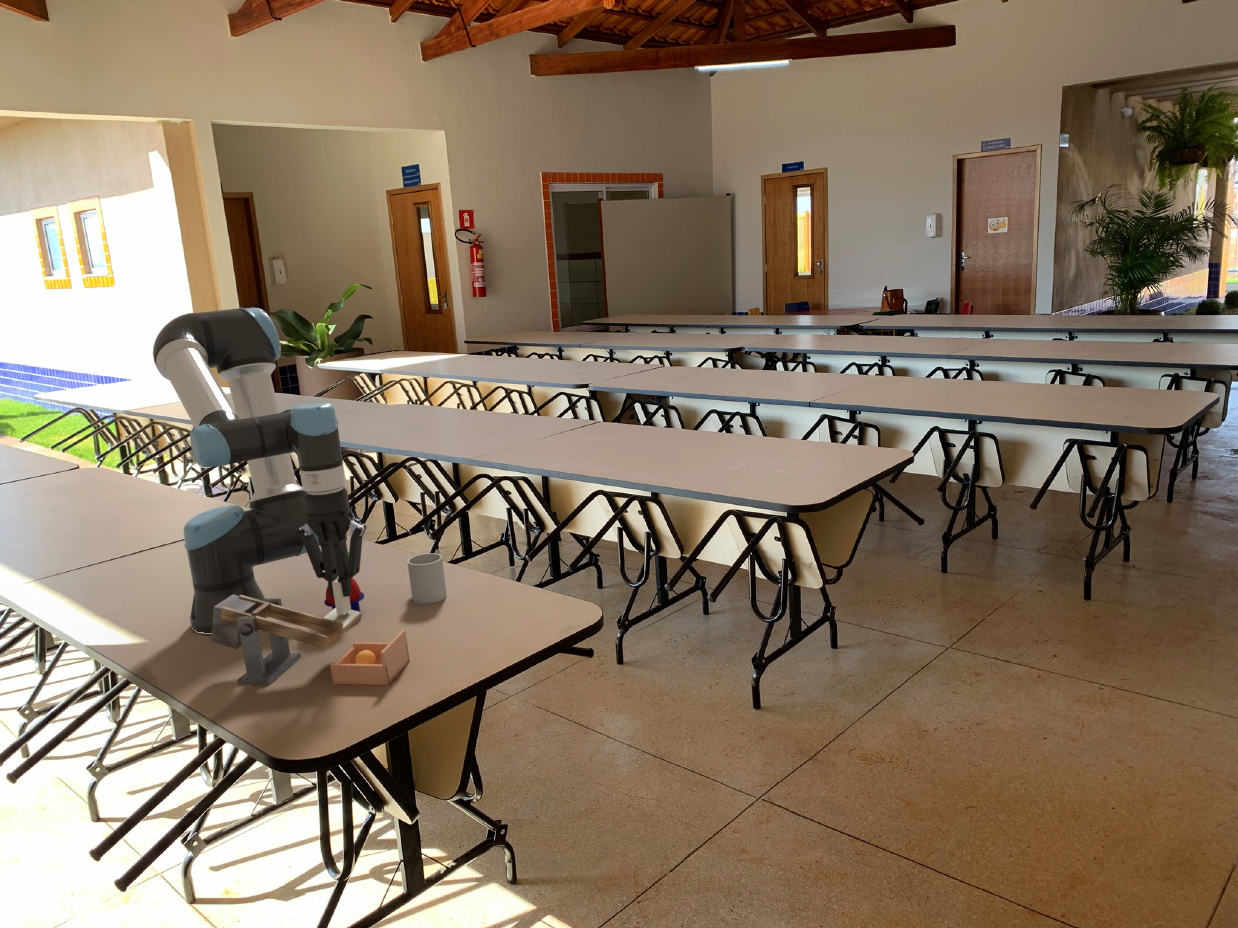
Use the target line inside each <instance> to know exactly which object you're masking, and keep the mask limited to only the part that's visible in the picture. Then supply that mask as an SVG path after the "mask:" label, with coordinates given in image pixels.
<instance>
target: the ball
mask: <svg viewBox="0 0 1238 928" xmlns="http://www.w3.org/2000/svg"><path fill="white" fill-rule="evenodd" d="M375 662H376V658H375V655H374V654H373V653H372V652H371V651H369V650H363V651H361V652H359V653H358V654H357V656H356V658H355V664H375Z"/></svg>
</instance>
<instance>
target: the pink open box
mask: <svg viewBox="0 0 1238 928" xmlns="http://www.w3.org/2000/svg"><path fill="white" fill-rule="evenodd" d="M407 640H408V638H407V633H406V629H402V630H401V631H400V632H399V633H398V634H397V635H396V636H395V637H394V638H393V639H392V640H391V641H389V642H370V641H369V642H366V641H365V642H359V641H358V642H355V641H354V642H353V643H352V647H351V648H350V649H349V650H348V651H347V652H346V653H345V654H344V655H343V656H341V658H339V659H338V660H337V661H336V662H335V663H331V664H330V672H331V678H332V683H333V684H334V685H377V686H380V685H381V686H384V685H385V686H389V685H390V684H391V682H392V681H393V680H394V679H395V678H396V677H397V676H398V674H400V672H401V671H402V670H403V669H404V668H405V667H406V665H407V664H409V662H410V655H409V647H408V646H409V645H408V641H407ZM363 650H369V651H371V652H372V653H373V654H374V655H375V658H376V662H375V664H355V658H356V656H357V654H358V653H359V652H361V651H363Z"/></svg>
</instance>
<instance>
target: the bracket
mask: <svg viewBox="0 0 1238 928" xmlns="http://www.w3.org/2000/svg"><path fill="white" fill-rule="evenodd" d="M263 601H265V602H269V603H272V604H276V605H279V606H283V603H282V598H265V600H263ZM237 622H238V627H239V633H240V638H241V644H242V646H241V650H242V654H243V659H244V665H245V670H246V671H245V673H244V674H242V676H241V677H239V678H238V679H237V680H236V684H237V685H248V686H249V685H250V686H256V685H257V686H258V685H259V686H270V685H271V684H272V683H273V682H275V680H276V679H277V678H279V677H280V676H281V675H282V674H284V673H285V672H286V671H287V670H288V669H289V668H291V666H293V665H294V664H295V663H296V662H297V661H299V660H300V658H302V656H301V652H290V645H289V638H285V637H282V636H278V635H275V634H271V633H268V638H269V644H270V649H271V652H270V653H269V654H268V655H266V656H265V657H264V656H263V655H264V654H263V650H262V644H261V638H260V632H259V631H260V630H258V626H257V620H256V617H239V618H237Z"/></svg>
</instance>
